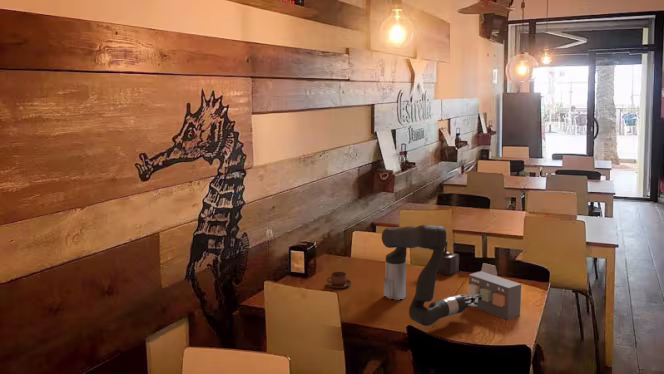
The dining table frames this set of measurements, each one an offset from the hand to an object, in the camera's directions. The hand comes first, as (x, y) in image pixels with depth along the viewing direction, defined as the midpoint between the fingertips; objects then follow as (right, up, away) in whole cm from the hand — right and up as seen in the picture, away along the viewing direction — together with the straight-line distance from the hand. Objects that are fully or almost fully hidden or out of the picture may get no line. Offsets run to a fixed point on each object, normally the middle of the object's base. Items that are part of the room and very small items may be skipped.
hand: (480, 296), depth 255 cm
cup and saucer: (-60, -2, +40) cm, 72 cm away
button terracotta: (+8, -3, -3) cm, 8 cm away
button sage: (+4, -2, +3) cm, 5 cm away
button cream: (0, -1, +9) cm, 9 cm away
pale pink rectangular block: (+14, -1, +40) cm, 42 cm away
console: (+7, -7, +6) cm, 12 cm away
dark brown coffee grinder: (-6, +2, +58) cm, 58 cm away
